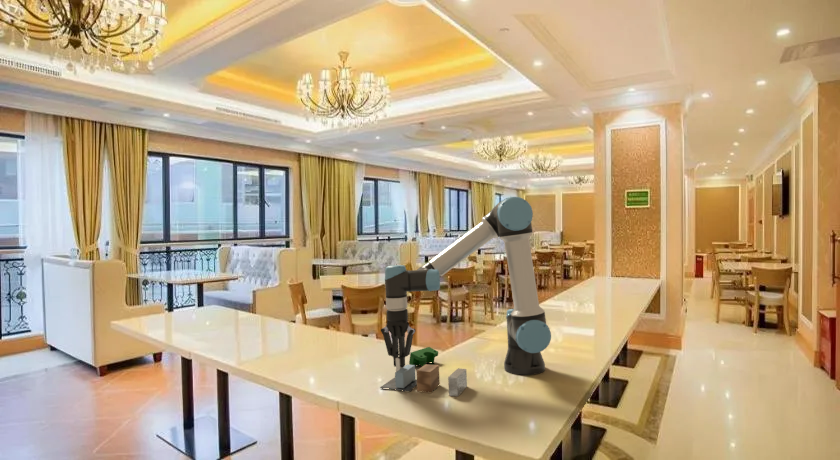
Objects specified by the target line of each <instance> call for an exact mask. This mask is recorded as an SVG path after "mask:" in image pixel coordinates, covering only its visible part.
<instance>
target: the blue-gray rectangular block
mask: <svg viewBox="0 0 840 460" xmlns="http://www.w3.org/2000/svg"><path fill="white" fill-rule="evenodd" d="M394 378H395V384H396V387H397V388H404V387H406V386H407V385H408V384H410V383H411V382H412V381H414V380H415V379H416V366H415V365H410V364H405V366H404V367H403V368H401V369H400V370H398V371H397V372H396V371H395V373H394Z"/></svg>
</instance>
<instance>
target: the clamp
mask: <svg viewBox="0 0 840 460" xmlns="http://www.w3.org/2000/svg"><path fill="white" fill-rule="evenodd" d="M438 356H439V351H438V350H436V349H435V348H433V347H430V346H427V347H424V348H421V349H417V350H415V351H410V355H409V360H408V361H409V362H408V365H415V367H417V366H416V365H418V366H420V367H422V366H424V365H425V364H427V363H428V364H430V363H429V362H432V363H435V358H436V357H438ZM426 362H427V363H426Z"/></svg>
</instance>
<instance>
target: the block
mask: <svg viewBox="0 0 840 460" xmlns="http://www.w3.org/2000/svg"><path fill="white" fill-rule="evenodd" d="M415 373H416V380H417V386H416V388H417V392H419V391H422V392H421V393H428V392H431V393H433V392H434V391H435V390H436V389H437V388H438V387H439V386H440V385H439V384H441V383H440V381H441V380H440V365H439V364H431V363H428V364H427V363H426V364H425V365H424V366H420V368H419V369H417V370H415ZM438 385H439V386H438ZM437 386H438V387H437ZM436 387H437V388H436ZM435 388H436V389H435ZM434 389H435V390H434ZM433 390H434V391H433ZM432 391H433V392H432Z"/></svg>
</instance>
